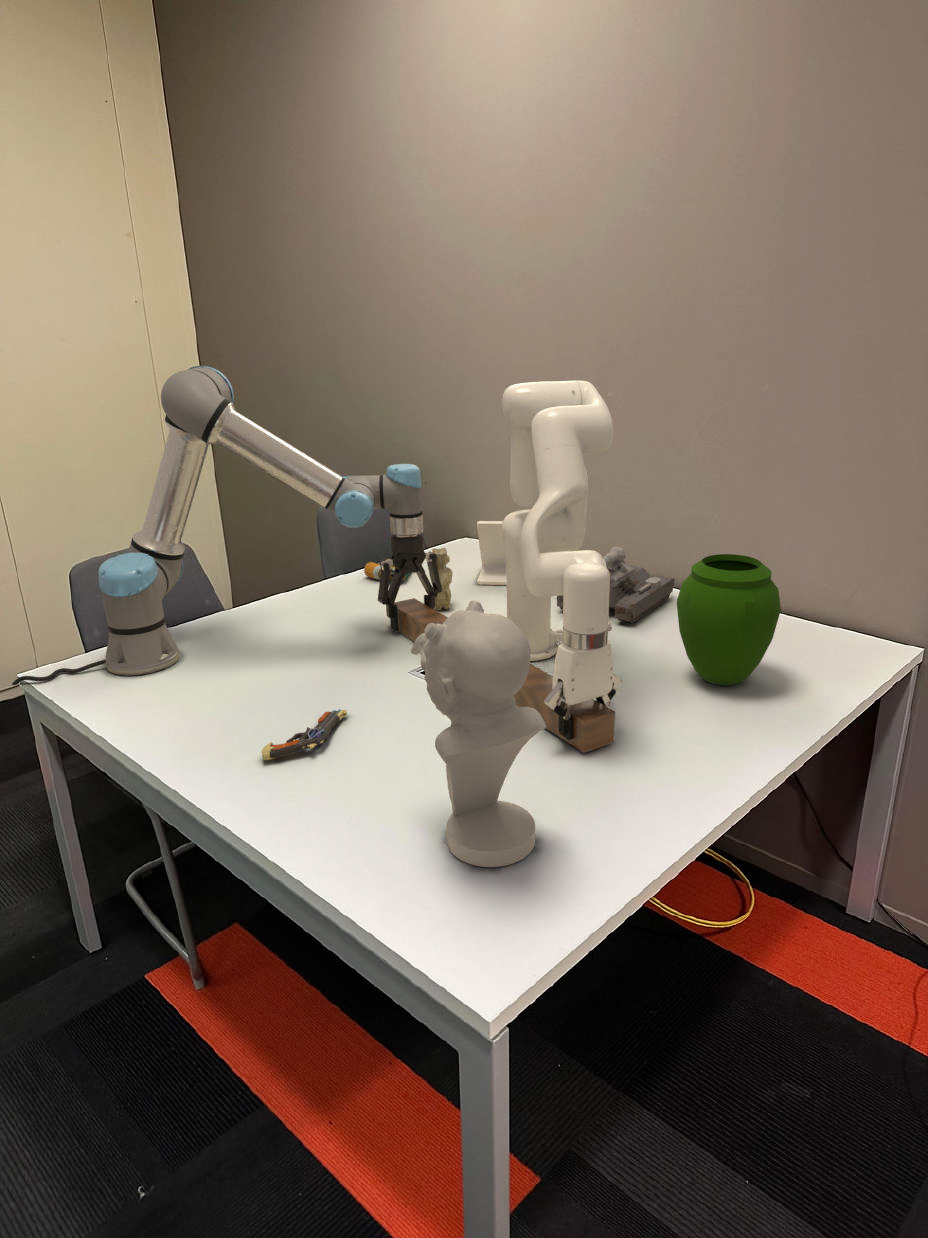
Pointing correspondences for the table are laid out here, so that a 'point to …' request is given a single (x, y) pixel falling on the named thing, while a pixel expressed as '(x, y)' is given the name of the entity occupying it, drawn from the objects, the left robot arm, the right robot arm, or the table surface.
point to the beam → (526, 687)
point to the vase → (727, 616)
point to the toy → (632, 588)
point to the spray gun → (378, 570)
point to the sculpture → (443, 579)
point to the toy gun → (305, 737)
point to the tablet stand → (491, 553)
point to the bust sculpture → (481, 729)
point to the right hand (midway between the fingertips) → (582, 730)
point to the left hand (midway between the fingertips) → (412, 625)
